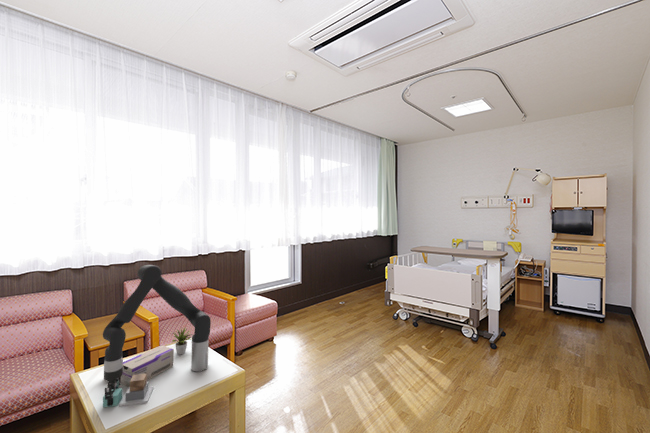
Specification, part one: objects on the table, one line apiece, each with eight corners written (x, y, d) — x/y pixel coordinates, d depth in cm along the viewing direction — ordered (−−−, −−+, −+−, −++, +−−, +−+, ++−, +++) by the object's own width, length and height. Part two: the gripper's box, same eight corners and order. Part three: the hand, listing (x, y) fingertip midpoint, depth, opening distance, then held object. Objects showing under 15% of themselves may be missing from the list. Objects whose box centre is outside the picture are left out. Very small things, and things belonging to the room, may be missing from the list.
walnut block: (146, 382, 156) (146, 373, 155) (143, 389, 150) (143, 379, 150) (133, 384, 154) (133, 374, 154) (129, 391, 148) (129, 381, 148)
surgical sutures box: (131, 388, 159) (132, 368, 158) (119, 382, 163) (119, 363, 163) (173, 366, 181) (173, 349, 181) (161, 362, 186) (161, 345, 185)
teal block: (122, 397, 151) (122, 388, 150) (117, 405, 145) (117, 395, 145) (108, 399, 149) (108, 389, 149) (102, 407, 143) (103, 396, 143)
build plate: (153, 388, 159) (153, 379, 159) (147, 402, 148) (147, 392, 148) (127, 391, 156) (127, 382, 156) (119, 406, 144) (119, 396, 144)
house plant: (175, 361, 187) (175, 335, 186) (163, 354, 194) (163, 329, 194) (196, 352, 199) (196, 328, 198) (183, 346, 206) (184, 322, 206)
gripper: (116, 374, 141) (116, 409, 141) (127, 359, 154) (126, 391, 155) (98, 376, 138) (97, 411, 139) (110, 360, 152) (109, 393, 153)
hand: (112, 400), depth 147 cm, fingers closed on teal block, 6 cm apart
